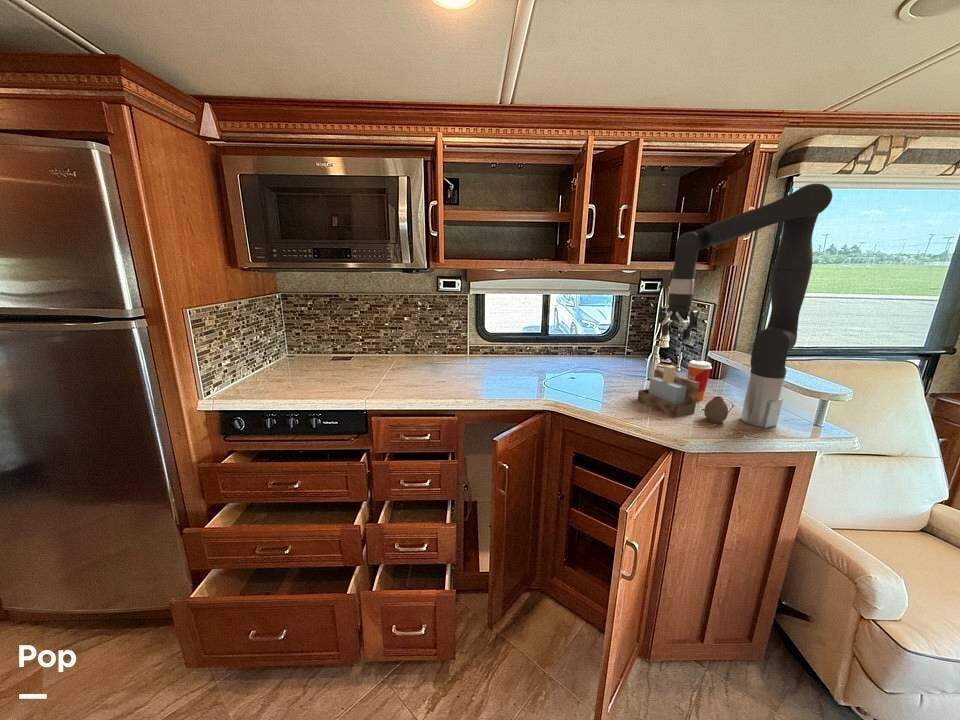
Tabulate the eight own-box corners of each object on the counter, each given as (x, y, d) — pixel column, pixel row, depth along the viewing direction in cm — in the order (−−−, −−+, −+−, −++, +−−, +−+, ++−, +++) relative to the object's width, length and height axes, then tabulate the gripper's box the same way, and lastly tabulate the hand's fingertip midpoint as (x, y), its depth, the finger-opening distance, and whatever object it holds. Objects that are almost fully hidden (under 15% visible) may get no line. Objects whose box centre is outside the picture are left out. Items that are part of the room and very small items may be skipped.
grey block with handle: (682, 411, 134) (689, 370, 130) (672, 413, 132) (679, 371, 128) (656, 400, 145) (662, 361, 141) (647, 402, 143) (652, 363, 139)
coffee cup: (681, 393, 153) (687, 359, 149) (703, 396, 150) (710, 361, 146) (684, 400, 145) (690, 364, 141) (707, 403, 142) (714, 366, 138)
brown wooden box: (694, 413, 132) (699, 382, 129) (674, 417, 129) (679, 385, 126) (654, 396, 149) (658, 368, 145) (635, 400, 145) (639, 371, 142)
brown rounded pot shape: (720, 426, 122) (725, 402, 120) (699, 419, 127) (703, 396, 125) (729, 421, 126) (734, 398, 124) (708, 415, 131) (712, 392, 129)
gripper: (707, 293, 123) (699, 340, 127) (671, 290, 135) (665, 333, 139) (691, 294, 120) (684, 342, 124) (656, 291, 133) (651, 334, 137)
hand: (674, 337), depth 132 cm, fingers open, 8 cm apart
